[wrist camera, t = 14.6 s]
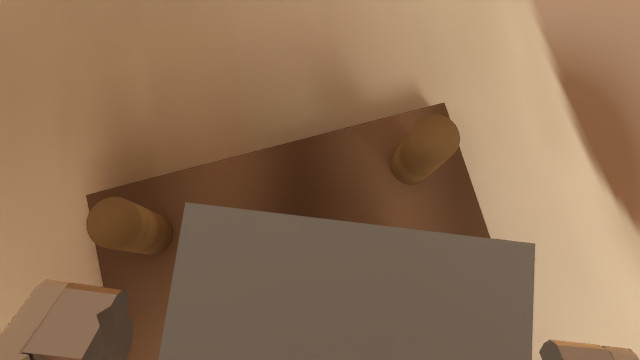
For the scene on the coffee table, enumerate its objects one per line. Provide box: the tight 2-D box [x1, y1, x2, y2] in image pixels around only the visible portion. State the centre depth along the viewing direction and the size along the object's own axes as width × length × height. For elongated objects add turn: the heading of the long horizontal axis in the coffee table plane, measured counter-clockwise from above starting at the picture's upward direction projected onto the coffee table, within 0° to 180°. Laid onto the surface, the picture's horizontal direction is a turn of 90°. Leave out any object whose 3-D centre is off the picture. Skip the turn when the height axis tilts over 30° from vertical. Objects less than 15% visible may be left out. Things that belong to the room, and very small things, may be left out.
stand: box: [86, 103, 490, 360], centre depth 15 cm, size 13×13×5 cm
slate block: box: [158, 202, 535, 360], centre depth 11 cm, size 5×5×10 cm
